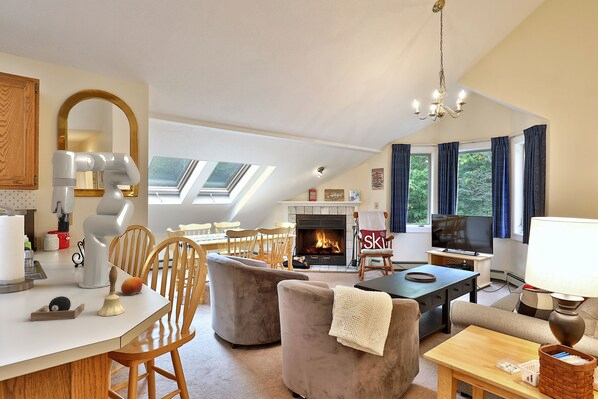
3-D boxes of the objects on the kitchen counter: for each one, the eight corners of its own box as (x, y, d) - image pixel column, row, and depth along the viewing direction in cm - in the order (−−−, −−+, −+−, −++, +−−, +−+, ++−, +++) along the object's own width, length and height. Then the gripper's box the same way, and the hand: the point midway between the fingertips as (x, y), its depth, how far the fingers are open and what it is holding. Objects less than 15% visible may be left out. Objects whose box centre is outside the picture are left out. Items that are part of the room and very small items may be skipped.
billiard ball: (73, 311, 116) (74, 294, 116) (64, 317, 110) (65, 299, 110) (54, 312, 115) (55, 294, 115) (44, 317, 109) (45, 299, 109)
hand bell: (99, 310, 119) (101, 264, 119) (125, 308, 122) (127, 263, 122) (95, 317, 111) (97, 269, 111) (124, 315, 114) (125, 267, 115)
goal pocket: (44, 311, 115) (44, 304, 115) (84, 309, 119) (84, 302, 119) (30, 321, 106) (30, 313, 106) (74, 318, 109) (74, 311, 109)
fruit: (138, 293, 135) (129, 276, 136) (122, 302, 137) (114, 284, 138) (150, 289, 143) (142, 272, 144) (136, 297, 145) (128, 280, 146)
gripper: (60, 183, 134) (59, 229, 134) (44, 182, 120) (43, 234, 120) (82, 184, 136) (80, 229, 136) (69, 183, 122) (68, 234, 122)
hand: (63, 231), depth 128 cm, fingers closed
